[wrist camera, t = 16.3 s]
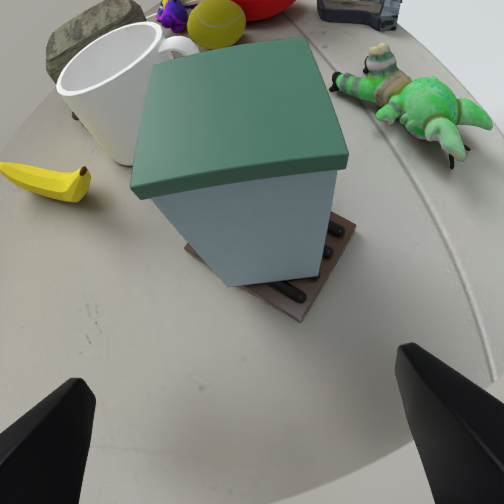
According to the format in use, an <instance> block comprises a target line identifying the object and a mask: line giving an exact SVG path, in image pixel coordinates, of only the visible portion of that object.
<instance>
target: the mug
mask: <svg viewBox="0 0 504 504" xmlns="http://www.w3.org/2000/svg"><path fill="white" fill-rule="evenodd" d="M171 51H176V52H179V53H181V54H183V55H184V56H188V55H192V54H196V53H200V52H199V49H198V47H197V46H196V45H195V44H194V43H193V41H192V40H191V39H189V38H186V37H183V36H173V37H170V38H167V39H166V38H165V36H164V34H163V31H162V29H161V26H159V25H158V24H156V23H153V22H138V23H133V24H129V25H125V26H123V27H120V28H117V29H115V30H113V31H111V32H109V33H107V34H105V35H103V36H101V37H99V38H98V39H96V40H95V41H93V42H91V43H90V44H89V45H87V46H86V47H85V48H83V49H82V50H81V51H80V52H79V53H77V54H76V55H75V56H74V57H73V58H72V59H71V60H70V61H69V63H68V64H67V65H66V67H65V68H64V69H63V70H62V72H61V74H60V76H59V78H58V81H57V85H56V87H57V91H58V93H59V94H60V96H61V97H62V98H63V99H64V101H65V102H66V103H67V104H68V106H69V107H70V108H71V110H72V111H73V112H74V113H75V115H76V116H77V117H78V118H79V120H80V121H81V122H82V123H83V125H84V126H85V127H86V128H87V130H88V131H89V132H90V133H91V135H92V136H93V137H94V138H95V139H96V141H97V142H98V143H99V144H100V146H101V147H102V148H103V149H104V150H105V152H106V153H107V154H108V155H109V156H110V158H112V159H113V160H114V161H115V162H117V163H119V164H122V165H126V166H133V162H134V155H135V149H136V143H137V137H138V132H139V126H140V121H141V116H142V111H143V106H144V101H145V96H146V92H147V87H148V83H149V79H150V75H151V70H152V66H153V65H154V64H158V63H161V62H165V61H168V60H172V59H174V58H173V55H172V53H171Z"/></svg>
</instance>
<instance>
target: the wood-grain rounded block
mask: <svg viewBox="0 0 504 504" xmlns="http://www.w3.org/2000/svg"><path fill="white" fill-rule="evenodd" d="M138 22H147V20H146V18H145V16H144V13H143V11H142V9H141V6H140V5H138V4H137V3H136V2H134V1H133V0H105V1H103V2H101V3H99V4H97V5H96V6H93V7H92V8H90V9H88V10H86V11H84V12H83V13H81V14H79V15H78V16H76V17H74V18H73V19H71V20H70V21H68V22H67V23H65V24H64V25H62V26H61V27H59V28H58V29H57V30H56V31H54V32H53V33H52V35H51V36H50V38H49V40H48V44H47V47H46V70H47V73H48V74H49V75H50V77H51V78H52V80H53V81H54V82H55V84H56V85H57V81H58V78H59V76H60V74H61V72H62V70H63V69H64V68H65V67H66V65H67V64H68V63H69V61H70V60H71V59H72V58H73V57H74V56H75V55H76V54H77V53H79V52H80V51H81V50H82V49H83V48H85V47H86V46H87V45H89V44H90V43H91V42H93V41H95V40H96V39H98V38H99V37H101V36H103V35H105V34H107V33H109V32H111V31H113V30H115V29H117V28H120V27H123V26H125V25H129V24H133V23H138ZM72 118H73V119H75V120H79V118H78V117H77V116H76V115H75V113H74V112H72Z"/></svg>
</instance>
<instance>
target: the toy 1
mask: <svg viewBox="0 0 504 504" xmlns="http://www.w3.org/2000/svg"><path fill="white" fill-rule="evenodd" d="M197 5H198V4H194V5H190V6H185V7H184V6H183V5H182V3H181V2H180V0H162V2H161V4H160V7H159V10H158V13H157V16H156V19H155V20H161V24H162V26H163V27H164V28H171V30H172V31H173V32H174V33H178V32H179V31H181V30H183V29H184V27H185V25H186V23H187V22H188V15H187V11H186V9H194V8H195V7H196V6H197Z"/></svg>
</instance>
